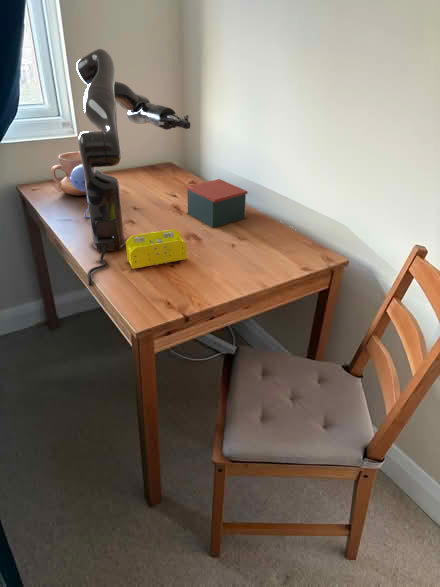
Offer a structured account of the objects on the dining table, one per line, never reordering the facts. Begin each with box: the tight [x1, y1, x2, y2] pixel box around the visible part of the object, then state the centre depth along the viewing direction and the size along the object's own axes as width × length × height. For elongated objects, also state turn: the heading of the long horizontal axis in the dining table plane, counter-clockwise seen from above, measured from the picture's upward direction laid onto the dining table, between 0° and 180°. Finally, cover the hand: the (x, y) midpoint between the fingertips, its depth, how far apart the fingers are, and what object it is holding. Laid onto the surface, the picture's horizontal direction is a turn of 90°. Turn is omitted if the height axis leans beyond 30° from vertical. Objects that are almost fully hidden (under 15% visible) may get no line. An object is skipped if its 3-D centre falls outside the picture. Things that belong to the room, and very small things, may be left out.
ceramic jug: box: [50, 150, 86, 196], centre depth 173 cm, size 18×14×14 cm
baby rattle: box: [70, 165, 90, 219], centre depth 151 cm, size 9×9×18 cm
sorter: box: [186, 188, 247, 228], centre depth 157 cm, size 14×14×9 cm
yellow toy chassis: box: [125, 228, 188, 269], centre depth 128 cm, size 16×6×8 cm, turn 114°
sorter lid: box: [186, 178, 249, 202], centre depth 154 cm, size 15×14×1 cm
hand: (188, 125), depth 156 cm, fingers closed
